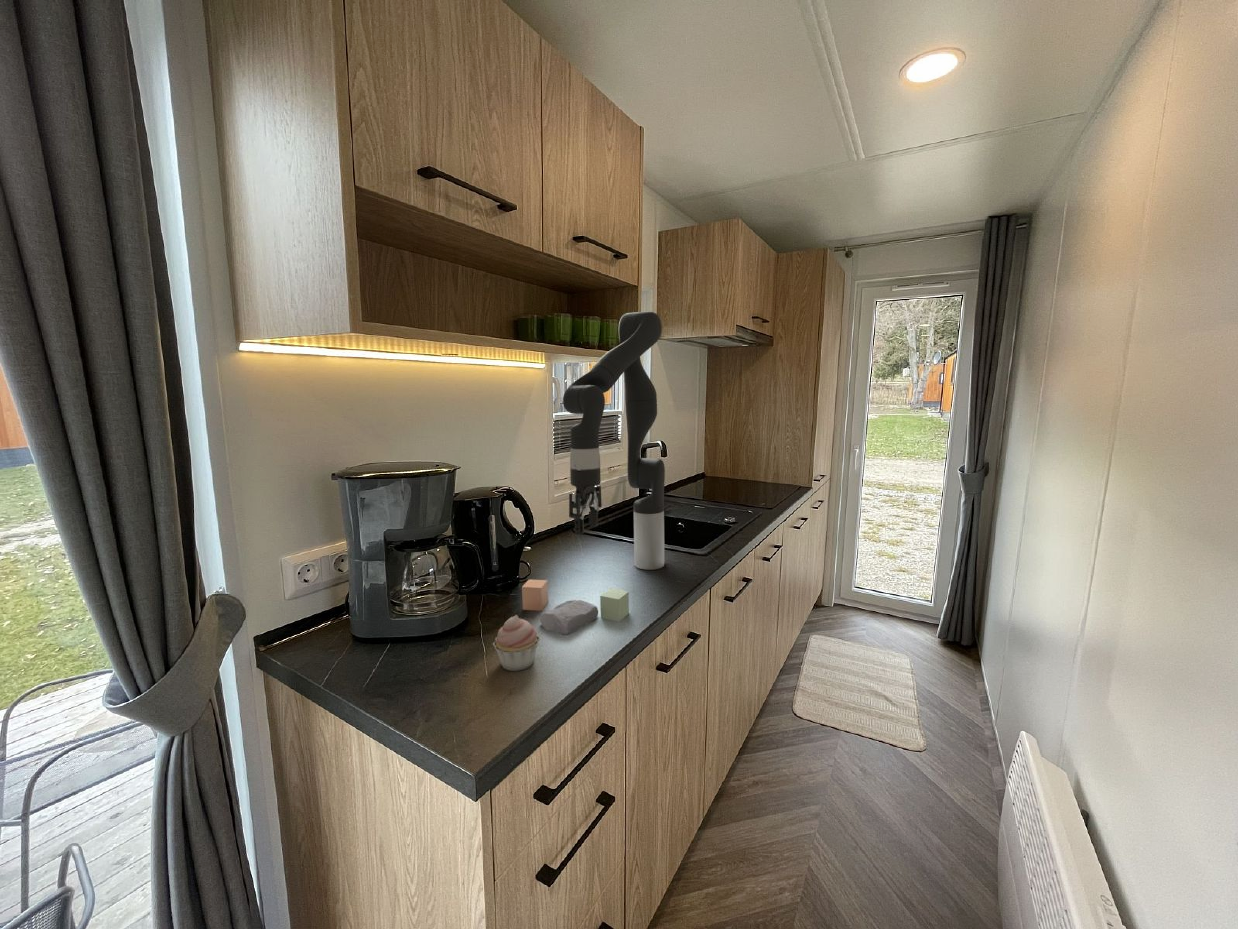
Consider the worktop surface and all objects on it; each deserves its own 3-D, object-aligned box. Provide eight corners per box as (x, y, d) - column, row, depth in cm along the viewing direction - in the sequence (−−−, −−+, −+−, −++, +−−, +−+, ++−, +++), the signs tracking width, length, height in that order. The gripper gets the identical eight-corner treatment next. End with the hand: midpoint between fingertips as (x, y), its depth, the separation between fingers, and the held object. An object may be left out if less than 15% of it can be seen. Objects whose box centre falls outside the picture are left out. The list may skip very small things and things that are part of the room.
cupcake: (551, 662, 99) (548, 615, 98) (510, 682, 93) (507, 631, 92) (525, 646, 106) (522, 601, 105) (485, 663, 100) (482, 615, 98)
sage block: (610, 609, 123) (610, 588, 123) (628, 613, 121) (628, 591, 120) (600, 617, 119) (600, 595, 118) (619, 621, 117) (618, 599, 116)
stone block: (537, 633, 116) (568, 637, 110) (534, 613, 116) (564, 615, 110) (572, 617, 125) (602, 619, 119) (569, 598, 125) (599, 599, 119)
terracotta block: (530, 601, 129) (528, 579, 128) (548, 602, 128) (547, 580, 127) (523, 609, 124) (521, 587, 123) (542, 611, 123) (541, 587, 123)
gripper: (583, 462, 132) (585, 522, 134) (558, 469, 119) (560, 535, 121) (609, 463, 130) (610, 524, 132) (586, 470, 116) (588, 538, 118)
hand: (586, 529), depth 126 cm, fingers open, 8 cm apart
